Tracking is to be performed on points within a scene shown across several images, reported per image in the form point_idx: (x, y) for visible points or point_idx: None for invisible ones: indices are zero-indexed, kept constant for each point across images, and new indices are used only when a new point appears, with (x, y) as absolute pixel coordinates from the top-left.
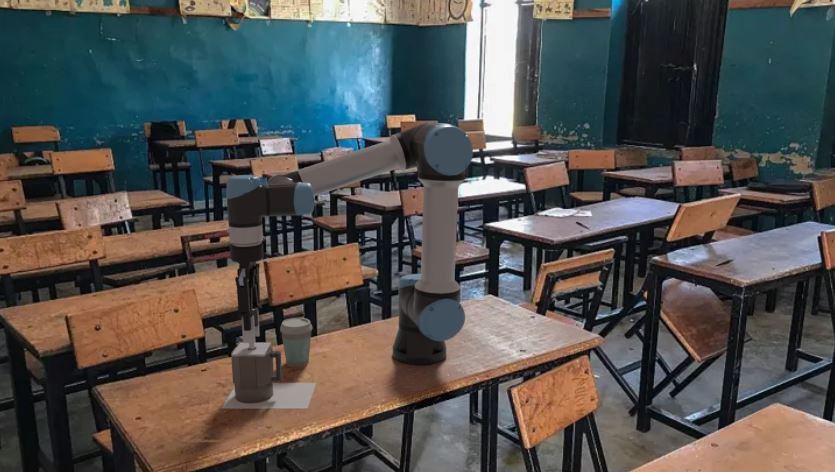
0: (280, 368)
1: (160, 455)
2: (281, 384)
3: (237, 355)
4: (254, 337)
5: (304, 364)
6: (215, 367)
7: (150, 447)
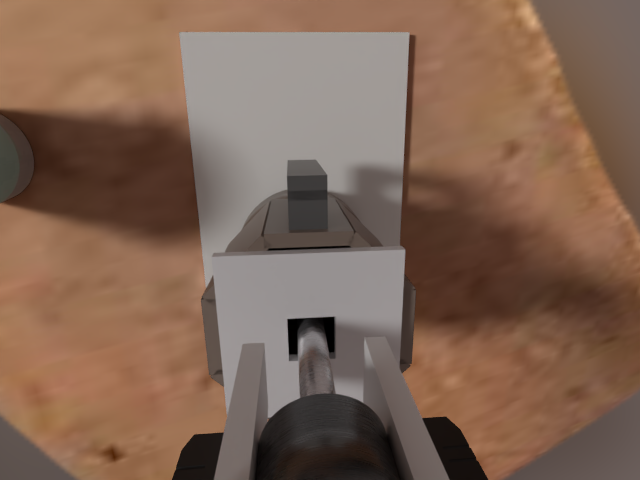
0: (311, 165)
1: (618, 378)
2: (209, 176)
3: None
4: (391, 357)
5: (2, 118)
6: (84, 430)
7: (576, 412)
